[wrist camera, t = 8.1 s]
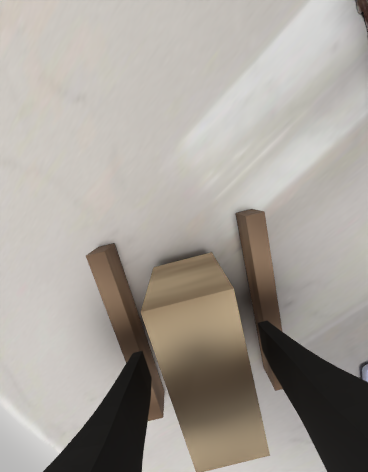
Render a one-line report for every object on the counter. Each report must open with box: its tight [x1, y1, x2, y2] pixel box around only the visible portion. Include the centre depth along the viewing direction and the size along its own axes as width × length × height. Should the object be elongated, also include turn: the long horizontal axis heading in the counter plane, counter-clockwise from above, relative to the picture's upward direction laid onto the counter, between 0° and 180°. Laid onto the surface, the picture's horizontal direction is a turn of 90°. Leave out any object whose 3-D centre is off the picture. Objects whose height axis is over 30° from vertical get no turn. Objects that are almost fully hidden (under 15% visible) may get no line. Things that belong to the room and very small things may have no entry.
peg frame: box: [86, 209, 283, 421], centre depth 15 cm, size 14×11×2 cm
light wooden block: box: [141, 252, 270, 472], centre depth 12 cm, size 10×4×5 cm, turn 14°
